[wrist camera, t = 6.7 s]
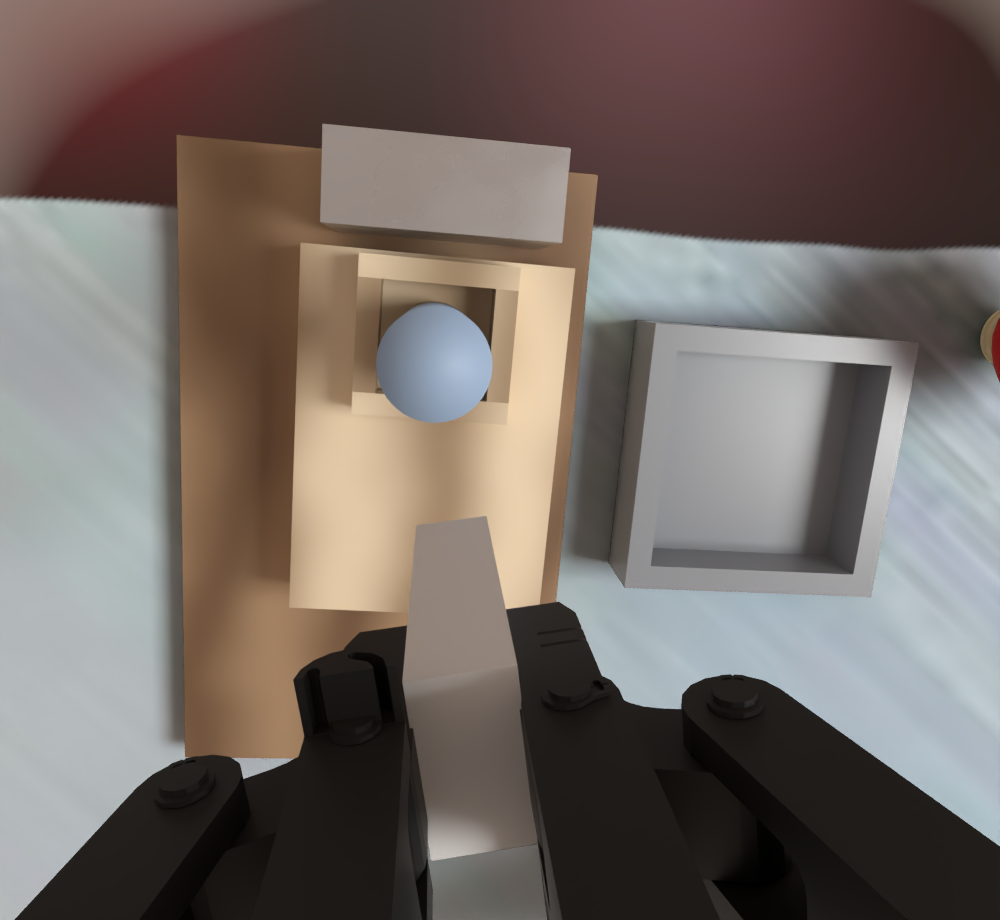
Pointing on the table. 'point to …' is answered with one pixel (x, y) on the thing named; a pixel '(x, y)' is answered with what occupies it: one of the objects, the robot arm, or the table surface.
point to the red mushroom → (992, 341)
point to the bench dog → (442, 187)
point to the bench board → (281, 429)
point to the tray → (757, 459)
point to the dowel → (434, 363)
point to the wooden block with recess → (420, 425)
